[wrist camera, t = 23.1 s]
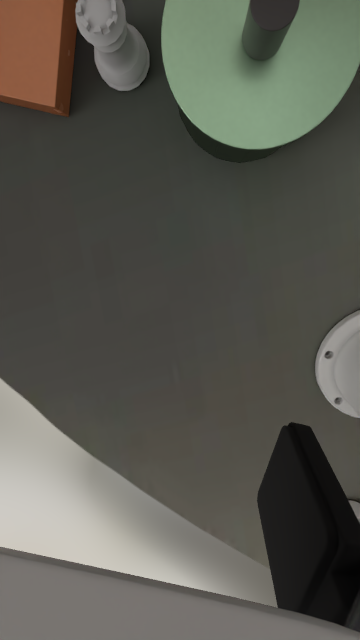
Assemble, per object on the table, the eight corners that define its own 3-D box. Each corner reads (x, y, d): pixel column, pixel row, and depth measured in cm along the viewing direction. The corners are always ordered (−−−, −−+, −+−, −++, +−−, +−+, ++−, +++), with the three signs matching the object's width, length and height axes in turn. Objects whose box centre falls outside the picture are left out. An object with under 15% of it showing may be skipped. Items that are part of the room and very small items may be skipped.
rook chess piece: (87, 54, 28) (45, -5, 20) (129, 16, 27) (102, -60, 20) (119, 104, 29) (89, 67, 21) (161, 70, 28) (146, 18, 21)
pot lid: (393, -57, 19) (450, -137, 15) (320, 170, 23) (349, 160, 18) (185, -106, 19) (180, -202, 14) (147, 130, 23) (134, 111, 18)
